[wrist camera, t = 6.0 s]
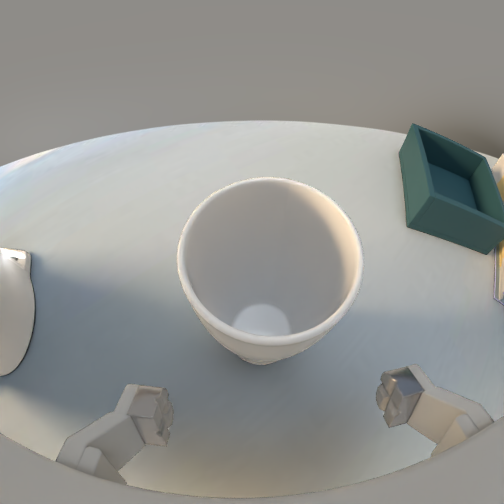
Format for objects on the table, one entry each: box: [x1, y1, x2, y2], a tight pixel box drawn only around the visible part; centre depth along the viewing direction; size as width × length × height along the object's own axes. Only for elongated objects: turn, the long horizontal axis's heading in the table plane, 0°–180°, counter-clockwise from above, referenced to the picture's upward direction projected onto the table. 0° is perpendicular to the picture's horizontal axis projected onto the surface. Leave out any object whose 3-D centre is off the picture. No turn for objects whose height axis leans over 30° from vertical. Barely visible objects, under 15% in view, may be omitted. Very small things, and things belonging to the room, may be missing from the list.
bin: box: [399, 124, 504, 255], centre depth 27 cm, size 14×14×6 cm
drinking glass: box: [177, 177, 364, 365], centre depth 16 cm, size 7×7×15 cm
